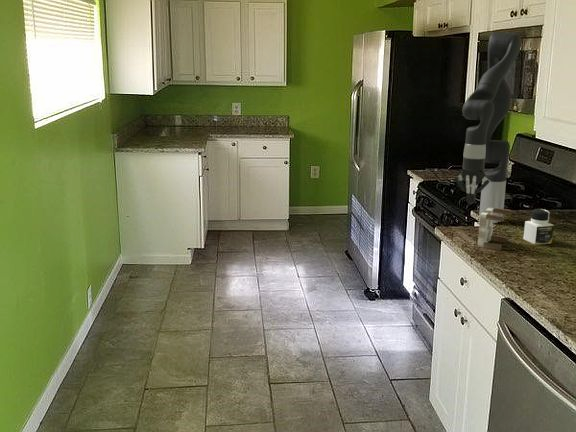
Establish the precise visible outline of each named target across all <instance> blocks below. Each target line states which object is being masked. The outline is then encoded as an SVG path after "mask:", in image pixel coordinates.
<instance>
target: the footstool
mask: <svg viewBox="0 0 576 432" xmlns="http://www.w3.org/2000/svg"><path fill="white" fill-rule="evenodd" d="M494 213H499V214H503V216H498V215H494ZM504 215H505V216H504ZM506 215H507V216H508V215H509V216H511V215H512V210H511V209H507V208H503V209H500V208H492V207H489V208H487V209H486V210H485V211H484V212H483V213H481V214H480V220H479V225H478V226H479V227H478V240H477V247H479V248H483V249H491V250H496V251H501V250H502V244H497V243H491V242H490V241H495V242H502V243H508V242H509V237H508V236H507V237H506V236H500V235H494V234H493V229H494V223H493V220H496V221H502V222H504V221H505V217H506Z"/></svg>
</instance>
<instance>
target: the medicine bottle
mask: <svg viewBox="0 0 576 432" xmlns="http://www.w3.org/2000/svg"><path fill="white" fill-rule="evenodd" d="M549 221H550V211H549V210H546V209H545V208H544V209H543V208H535V209H532V210H531V215H530V220H525V222H524V229H523V240H525V241H526V242H528V243H531V244H533V245H535V246H536V245H546V244H549V245H550V244H552V241H553V235H554V224H552V223H550V222H549Z"/></svg>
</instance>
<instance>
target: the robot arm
mask: <svg viewBox="0 0 576 432" xmlns="http://www.w3.org/2000/svg"><path fill="white" fill-rule="evenodd" d="M521 49H522V37H521V35H520V34H518V33H515V32H493V33H491V34H490V36H489V40H488V43H487V70H486V72H484V73H483V75H482V76H481V77H480V80H479V82H478V84H477V86H476V88H475V90H474V91H473V92H472V94H470V96H468V98H467V99H466V100H465V102H464V103H463V105H462V109H461V111H462V112H461V113H462V116H463V117H464V118H465V119H466V120H471V121H472V120H473V121H480V122H479V123H478V125H474V126H469V127H467V128H466V131H465V141H464V148H463V152H462V154H463V159H462V167H461V168H462V170H461V172H460V174H459V175H458V176H457V175H456V176H455V177H454V180H455V182H456V184H457V185H458V186H459V188H460V190H461V191H462V192H465V193H466V202H467V204H469V205H472V204H474V203H475V202H476V196H477V195H476V194H478V193H480V202H479V203H480V205H479V213H478V214H479V215H478V221H480V214H481V213H483V212H484V211H485V210H486V209H487V208H489V207H492V208H500V209H505V208H504V207H505V197H506V185H507V175H508V173H507V172H508V165H509V160H510V159H509V158H510V152H511V151H510V150H511V145H510V142H509V141H508V140H499V139H498V140H497V139H491V138H492V135H493V133H494V132H495V130H496V128H497V127H498V125H499V124H501V122H502V121H503V120H504V118H505V117H506V116H507V114H508V113H509V112H510V109H511V99H512V92H511V88H510V85H509V84H508V82H507V81H506V80H507V79H505V76H506V75H507V73H508V71H509V70H510V69H511V67H512V66H513V64H514V62H516V59H517V57H518V56H519V54H520V51H521ZM499 59H500V61H499ZM486 163H487V164H499V165H498V166H497V167H495V168H492V169H488V170H485V164H486ZM463 181H464V182H465V183H464V182H463ZM481 182H482V183H481ZM480 183H481V185H480V186H479V184H480ZM478 186H479V187H478ZM494 215H498V216H504V214H499V213H494ZM498 222H500V223H501V221H496V220H493V224H498Z"/></svg>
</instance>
